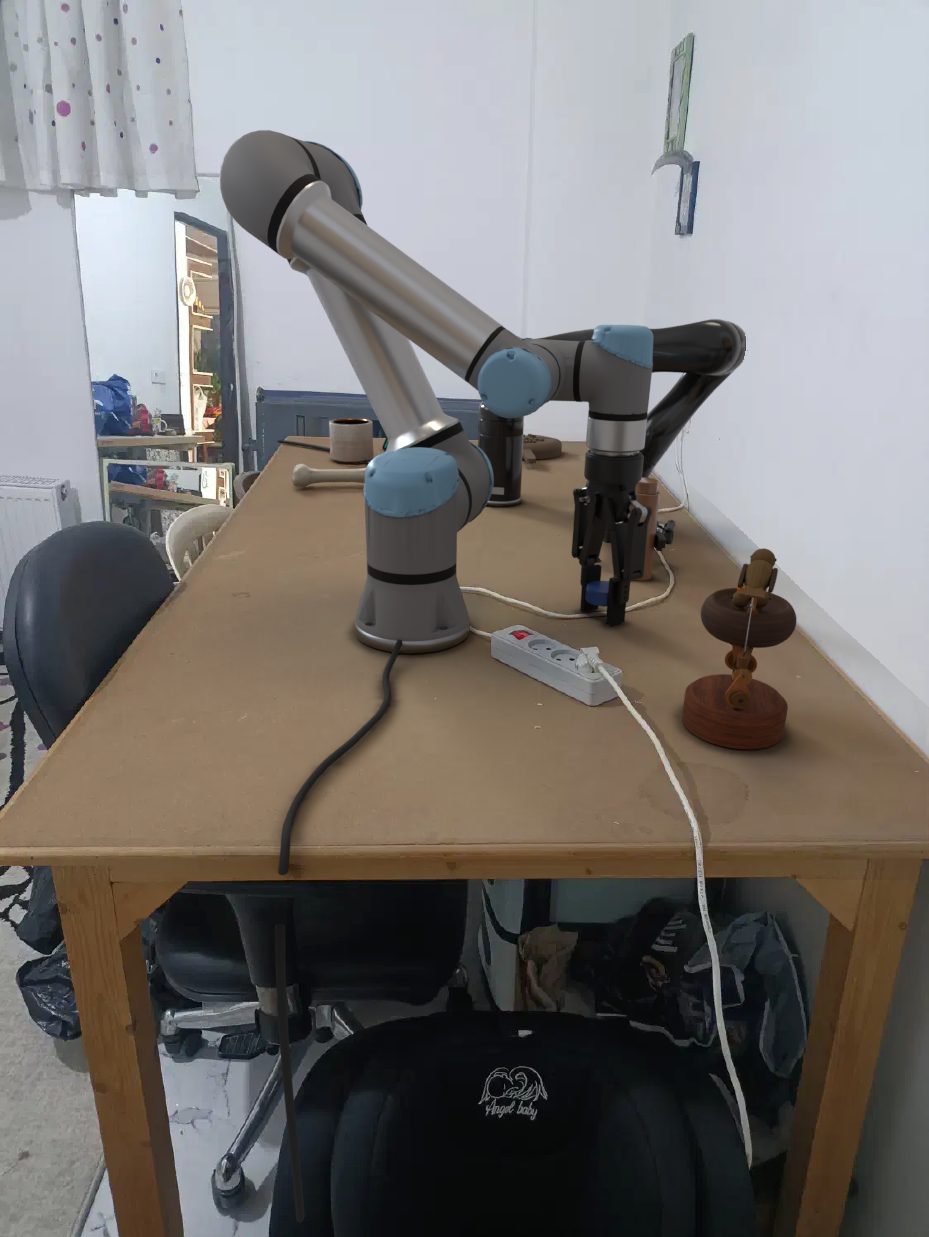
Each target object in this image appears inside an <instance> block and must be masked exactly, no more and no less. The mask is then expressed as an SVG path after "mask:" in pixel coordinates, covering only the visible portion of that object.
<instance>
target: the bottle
mask: <svg viewBox="0 0 929 1237" xmlns="http://www.w3.org/2000/svg"><path fill="white" fill-rule="evenodd" d="M659 482H660V481H659V480H658V479H657V478H653V477H649V478H642V479H641V480H640V481H639V482H638V484H637V485H636V495H637V502H638V503H640V504H641V505H642V506H643V507H647V506H649V507H651V509H652V514H651V517H650V519H649V522H648V526H647V537H646V549H645V561H644V572H643V577H642V578H639V579H634V580H633V581H636V582H638V581H641V582H642V581H648V580H650V579H652V575H653V574H652V573H653V565H654V557H655V556H654V555H655V537H656V528H657V521H658V517H659V507H660V497H661V492H660V491H659Z"/></svg>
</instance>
